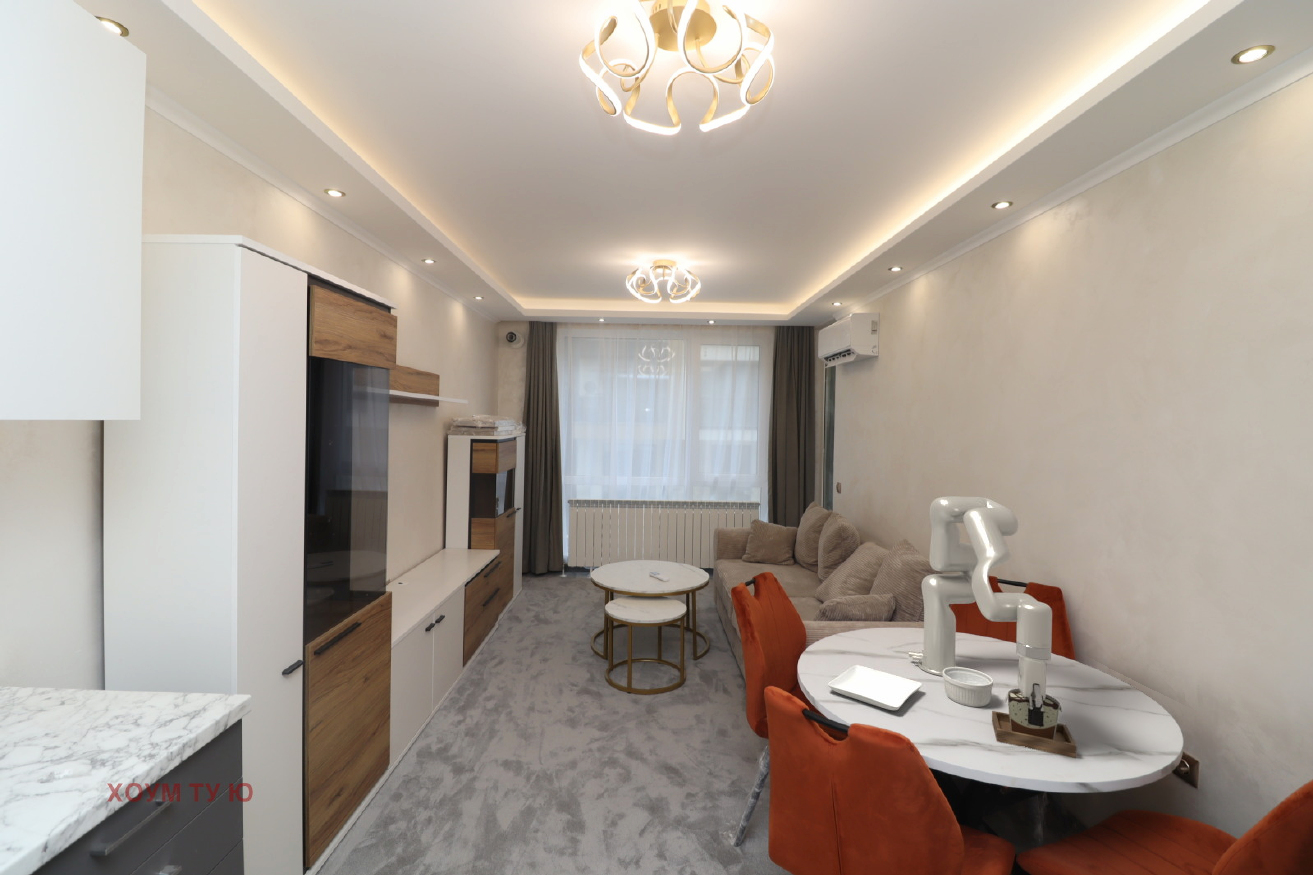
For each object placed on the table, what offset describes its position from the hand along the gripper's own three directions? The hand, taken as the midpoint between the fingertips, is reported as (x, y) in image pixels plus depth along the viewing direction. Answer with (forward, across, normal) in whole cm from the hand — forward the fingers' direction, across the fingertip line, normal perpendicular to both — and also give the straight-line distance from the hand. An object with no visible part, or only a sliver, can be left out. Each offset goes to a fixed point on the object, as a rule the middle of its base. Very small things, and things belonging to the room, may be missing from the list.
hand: (1032, 716), depth 145 cm
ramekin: (+6, -18, -14) cm, 23 cm away
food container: (+5, -2, 0) cm, 5 cm away
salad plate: (+6, -9, -38) cm, 40 cm away
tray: (+6, 0, 0) cm, 6 cm away
